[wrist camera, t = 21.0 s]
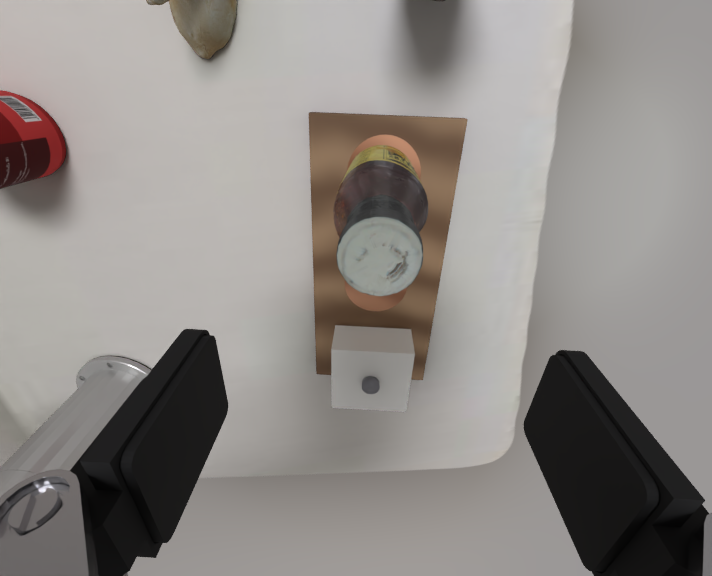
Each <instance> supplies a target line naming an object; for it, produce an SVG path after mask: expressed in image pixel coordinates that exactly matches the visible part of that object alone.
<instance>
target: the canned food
mask: <svg viewBox="0 0 712 576" xmlns="http://www.w3.org/2000/svg"><path fill="white" fill-rule="evenodd" d="M65 156H66V146H65V141H64V138H63V135H62V133H61V131H60V129H59V127H58V126H57V124H56V123H55V121H54V120H53V119H52V118H51V116H50V115H49V114H48V113H47V112H46V111H45V110H44V109H42V108H41V107H40V106H39V105H37V104H36V103H34V102H33V101H31V100H29V99H27V98H25V97H23V96H20V95H17V94H14V93H10V92H7V91H0V189H1V188H4V187H8V186H12V185H15V184H19V183H23V182H26V181H30V180H34V179H37V178H41V177H45V176H47V175H50V174H52V173H53V172H55V171H56V170H57V169H58V168H59V167H60V166H61V165H62V164H63V162H64V159H65Z"/></svg>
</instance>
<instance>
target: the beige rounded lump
mask: <svg viewBox="0 0 712 576" xmlns="http://www.w3.org/2000/svg"><path fill="white" fill-rule="evenodd" d="M146 1H147V3H148V4H150V5H162V4H164V3H165V2H167V1H169V4H170V8H171V12H172V16H173V19H174V21H175V24H176V26H177V28H178V30H179V32H180V33H181V35H182V36H183V37H184V38H185V40H186V41H187V42H188V43H189V45H190V46H191V47H192V48H193V50H194V51H195V52H196V54H197V55H199V56H200V57H202V58H206V59H210V58H211V57H212V56H213V54H214V53H215V52H216V51H217V50H219V49H221V48H223V47H224V46H225V45H226V44H227V43H228V41H229V39H230V37H231V33H232V29H233V25H234V21H235V18H236V15H237V14H236V8H237V0H146Z"/></svg>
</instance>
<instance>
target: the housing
mask: <svg viewBox="0 0 712 576" xmlns="http://www.w3.org/2000/svg"><path fill="white" fill-rule="evenodd" d="M414 357H415V351H414V345H413V338H412V332H411V329H398V328H379V327H361V326H342V325H335V330H334V336H333V342H332V349H331V408H342V409H359V410H376V411H393V412H406V410H407V404H408V397H409V390H410V384H411V377H412V370H413V364H414Z"/></svg>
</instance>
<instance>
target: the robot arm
mask: <svg viewBox="0 0 712 576" xmlns="http://www.w3.org/2000/svg"><path fill="white" fill-rule="evenodd" d="M76 383H77V387H78V389H77V390H76V391H75V392H74V393H73V394H72V395H71V396H70V397H69V398H68V399H67V400H66V401H65V402H64V403H63V404H62V405H61V407H60V408H59V409H58V410H57V411H56V412H55V413H54V414H53V415H52V416H51V417H50V418H49V419H48V420H47V421H46V422H45V423H44V424H43V425H42V426H41V427H40V428H39V429H38V430H37V431H36V432H35V433H34V434H33V435H32V436H31V437H30V438H29V439H28V440H27V441H26V442H25V443H24V444H23V445H22V446H21V447H20V448H19V449H18V450H17V451H16V452H15V453H14V454H13V455H12V456H11V457H10V458H9V459H8V460H7V461H6V462H5V463H4V464H3V465H2V466H1V467H0V576H128V574H127V572H128V571H130V569H131V567H132V565H133V563H134V561H135V559H136V557H137V556H138V557H153V558H156V556H157V554H158V552H159V549H160V547H161V545H162V543H167V542H168V541H169V540H170V539H171V537H172V535H173V533H174V531H175V529H176V527H177V525H178V522H179V520H180V518H181V516H182V513H183V511H184V509H185V507H186V505H187V502H188V500H189V498H190V495H191V493H192V491H193V489H194V487H195V484H196V482H197V480H198V478H199V476H200V473H201V471H202V469H203V467H204V464H205V462H206V460H207V458H208V455H209V453H210V451H211V449H212V447H213V444H214V442H215V440H216V438H217V435H218V433H219V431H220V429H221V426H222V424H223V422H224V420H225V418H226V415H227V411H228V400H227V395H226V390H225V385H224V380H223V375H222V370H221V365H220V360H219V355H218V350H217V345H216V340H215V337H214V336H210V335H209V332H208V331H207V330H195V329H185V330H183V331H182V332H181V334H180V335H179V336H178V337H177V339H176V340H175V341H174V342H173V344H172V345H171V346H170V348H169V349H168V350H167V351H166V353H165V354H164V355H163V356H162V358H161V359H160V360H159V361H158V363H157V364H156V365H155V367H154V368H153V369H152V370H150V369H148V368H147V367H146V366H144V365H142V364H140V363H138V362H135V361H132V360H130V359H126V358H122V357H115V356H103V357H98V358H94V359H92V360H90V361H89V362H87V363H86V364H85V365H84V366H83V367H82V368H81V369H80V370H79V372H78V374H77V378H76ZM524 431H525V435H526V437H527V439H528V442H529V444H530V446H531V448H532V450H533V453H534V455H535V457H536V459H537V462H538V464H539V466H540V469H541V471H542V473H543V475H544V477H545V480H546V482H547V484H548V487H549V489H550V491H551V493H552V496H553V498H554V500H555V502H556V505H557V507H558V509H559V511H560V514H561V516H562V518H563V520H564V523H565V525H566V527H567V529H568V532H569V534H570V536H571V538H572V541H573V543H574V545H575V547H576V550H577V552H578V554H579V556H580V559H581V561H582V563H583V565H584V566H585V567H586V568H587V569H588V570H589V571H592V573H593V574H594V576H712V513H710V514H709V513H708V512H707V510H706V509H705V508H704V507H703V505H702V504H703V502H704V501H705V500H704V499H703V497H702V496H701V495H700V494H699V492H698V491H697V490H696V489H695V487H694V486H693V485H692V484H691V482H690V481H689V480H688V479H687V477H686V476H685V475H684V474H683V473H682V471H681V470H680V469H679V468H678V466H677V465H676V464H675V463H674V461H673V460H672V459H671V458H670V457H669V456H668V454H667V453H666V452H665V450H664V449H663V448H662V447H661V445H660V444H659V443H658V442H657V440H656V439H655V438H654V437H653V436H652V434H651V433H650V432H649V431H648V429H647V428H646V427H645V426H644V424H643V423H642V422H641V421H640V420H639V418H638V417H637V416H636V415H635V413H634V412H633V411H632V410H631V408H630V407H629V406H628V405H627V403H626V402H625V401H624V400H623V399H622V397H621V396H620V395H619V394H618V392H617V391H616V390H615V389H614V387H613V386H612V385H611V384H610V383H609V381H608V380H607V379H606V378H605V376H604V375H603V374H602V373H601V371H600V370H599V369H598V368H597V367H596V365H595V364H594V363H593V362H592V360H591V359H590V358H589V357H588V355H587V354H585V353H584V352H581V351H567V350H561V351H558V352H557V353H556V355H552V356H551V357H550V358H549V361H548V364H547V366H546V368H545V371H544V373H543V376H542V378H541V381H540V383H539V386H538V388H537V391H536V393H535V395H534V398H533V401H532V403H531V406H530V408H529V410H528V413H527V416H526V418H525V421H524Z"/></svg>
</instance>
